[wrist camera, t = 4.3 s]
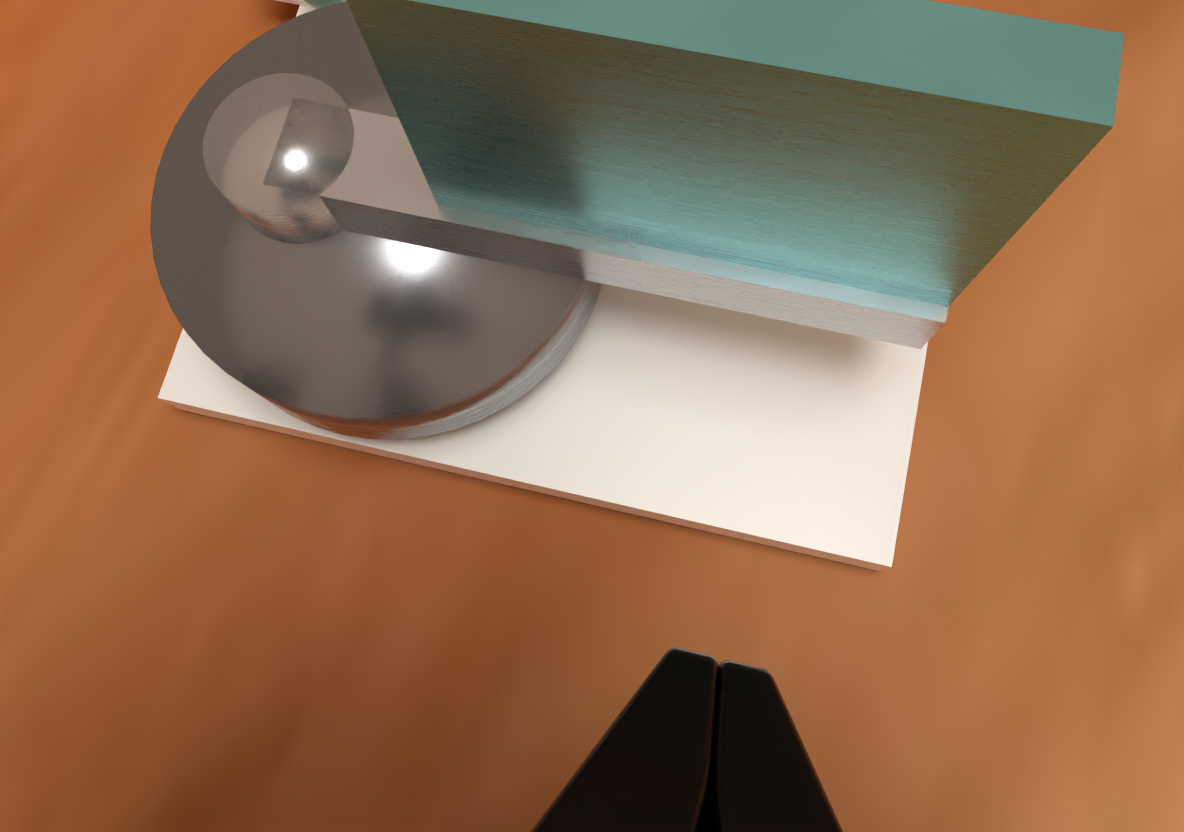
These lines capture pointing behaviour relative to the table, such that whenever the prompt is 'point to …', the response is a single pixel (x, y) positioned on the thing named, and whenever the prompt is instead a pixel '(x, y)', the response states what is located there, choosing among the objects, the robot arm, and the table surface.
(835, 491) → the plate
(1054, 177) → the cam foot
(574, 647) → the table surface
